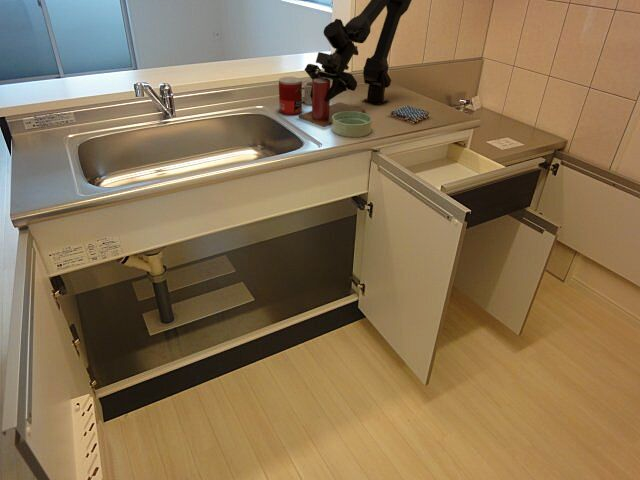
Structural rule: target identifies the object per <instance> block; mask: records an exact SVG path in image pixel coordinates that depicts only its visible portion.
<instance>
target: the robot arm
mask: <svg viewBox="0 0 640 480" xmlns="http://www.w3.org/2000/svg"><path fill="white" fill-rule="evenodd" d="M412 1H413V0H370V1H369V2H368V4H367V5H366V6H365V7H364V9H363V10H361V12H360V14H358V15H356V16H355V17H353V18H351V19H350V20H349V21H348V22H347V23H346V24H345V25H344V23H343V20H342V19H341V18H340V19H339V18H335V19H334V21H332V22H330V23H328V24H327V25H326V26H325V27H324V28H323V29H324V30H323V35H324V37H325V38H326V39H327V42H328V43H329V44H330V46H331V47H332V48H333V49H334V52H333V53H325V52H321V51H318V52H317V56H316V60H315V63H316V64H313V63H307V64H306V65H305V68H304V71H305V73H306V74H307V75H308V76H309V77H310V79H311V81H312V80H313V79H316V78H326V79H329V80H330V81H332V83H331V85H330V90H329V92H328V93H327V95H326V97H325V100H324V101H325V102H328V101H329V100H330V101H331V100H332V99H333V98H335V97H337V96H338V95H340V94H342V93H343V92H348V90H349V91H353V92H355V90H356V89H357V86H358V81H357V80H356V78H355V76H354V75H353V73H350V72H346V71H349V68H350V67H349V63H350V61H351V60H352V57H353V56H358V55H359V50H358V46H357V45H355V44H354V43H356V44H365V42H366V41H367V39H368V38H369V35H370V34H371V27H372V25H373V24H374V22H375V21H376V19H378V17H379V16H380V14H381V13H382V11H383V10H384V9H385V8H386V14H385V18H384V21H383V25H382V27H381V31H380V34H379V37H378V40H377V44H376V46H375V50H374V52H373V55H372V56H370V57H367V58H366V60H365V63H364V66H363V71H362V72H363V73H362V76H363V82H364V84H365V85H368V89H367V96H366V98H364V99H363V101H364V102H367V103H370V104H374V105H380V104H383V103H387V102H388V99H385V94H386V92H385V91H386V88H387V89H388V88H389V87H390V86H391V83H392V79H391V77H390V75H389V73H388V72H389V64H388V57H389V53H390V51H391V48H392V44H393V42H394V38H395V36H396V33H397V30H398V27H399V23H400V20H401V17H402V16H403V15H404V14H405V13H406V12H407V11H408V10H409V7H410V5H411V3H412ZM317 64H320V66H321V68H322V69H321V68H320V67H319V65H317ZM345 70H346V71H345ZM310 97H311V98H312V88H311V94H310Z"/></svg>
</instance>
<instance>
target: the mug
mask: <svg viewBox="0 0 640 480" xmlns="http://www.w3.org/2000/svg"><path fill="white" fill-rule="evenodd" d="M311 88H312V81H308V82H304V85H302V90H304V96H302V102H304V104H305V105H308V106H312V98H311V97H310V94H311Z"/></svg>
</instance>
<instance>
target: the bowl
mask: <svg viewBox="0 0 640 480" xmlns="http://www.w3.org/2000/svg"><path fill="white" fill-rule="evenodd" d="M372 124H373V118H372V116H371V115H369V114H368V113H366V112H365V113H362V112H355V111H344V112H339V113H336V114H334V115H333V116H332V125H331V131H332V132H333V133H334V134H336V135H338V136H342V137H345V138H346V137H347V138H361V137H365V136H368V135H370V134H371V132H372Z"/></svg>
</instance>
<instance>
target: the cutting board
mask: <svg viewBox="0 0 640 480" xmlns="http://www.w3.org/2000/svg"><path fill="white" fill-rule="evenodd" d="M344 111H355V112H362V113H365V114H366V109H363V108H360V107H357V106H353V105H351V104H347V103H344V102H341V101H340V102H336V103H333V104H330V108H329V118H328V119H326V120H316V119H313V118H312V110H311V111H307V112H304V113H300V114H298V119H299V120H300V119H301V120H303V121H306V122H307V123H308V122H309V123H311V124H314V125H316V126H319V127H322V128H327V127H329V126H332V116H333V115H334V114H336V113H339V112H344Z"/></svg>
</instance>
